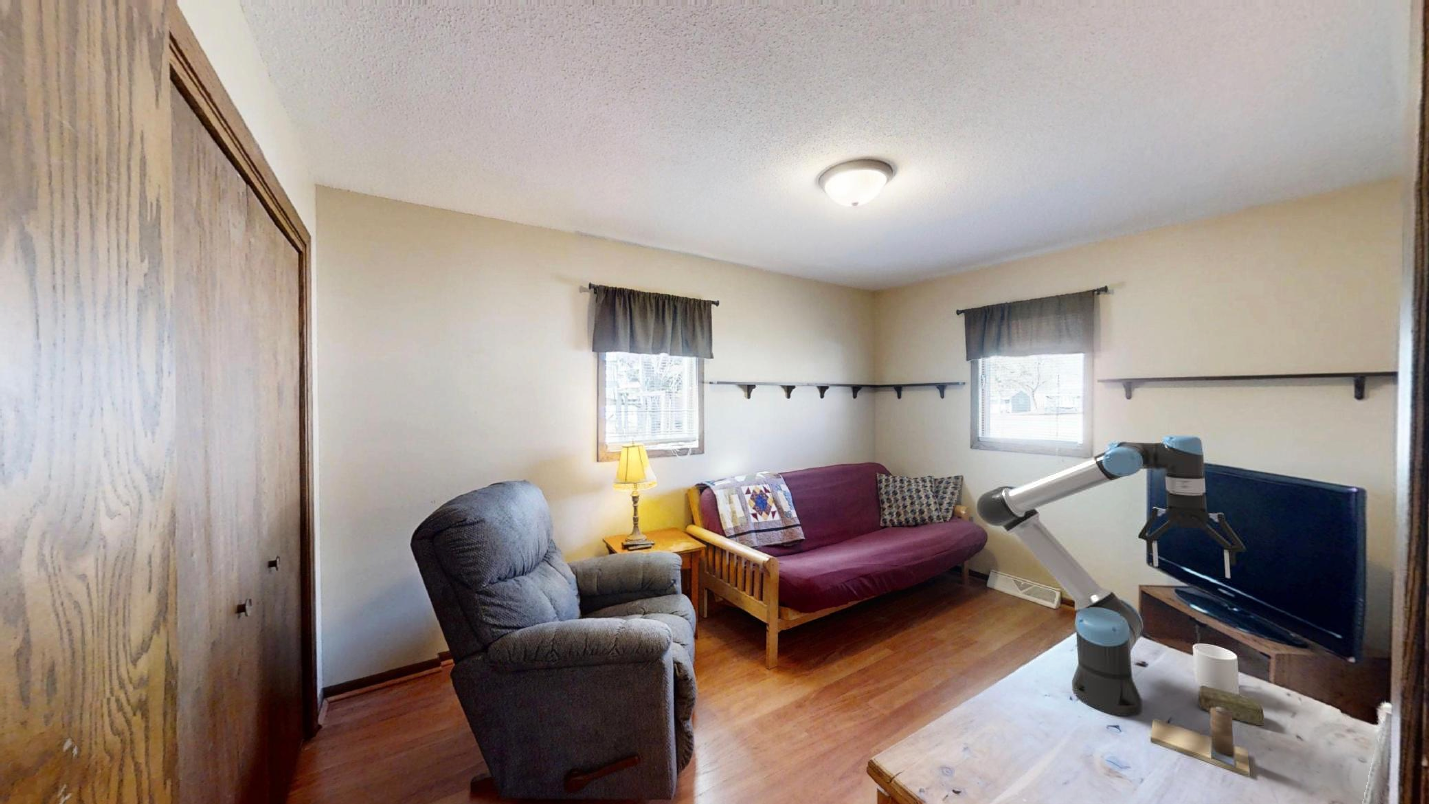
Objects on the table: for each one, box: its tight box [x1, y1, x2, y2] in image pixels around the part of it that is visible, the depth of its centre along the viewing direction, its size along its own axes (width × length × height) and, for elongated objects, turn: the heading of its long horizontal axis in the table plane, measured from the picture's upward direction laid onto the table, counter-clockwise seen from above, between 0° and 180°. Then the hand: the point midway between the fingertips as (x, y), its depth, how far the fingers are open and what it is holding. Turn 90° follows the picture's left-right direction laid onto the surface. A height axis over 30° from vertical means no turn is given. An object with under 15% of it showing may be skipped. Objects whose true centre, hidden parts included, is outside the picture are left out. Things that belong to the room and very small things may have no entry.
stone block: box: [1197, 686, 1265, 726], centre depth 122 cm, size 6×12×5 cm, turn 49°
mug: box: [1192, 643, 1240, 695], centre depth 132 cm, size 9×12×11 cm
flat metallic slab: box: [1150, 718, 1251, 778], centre depth 119 cm, size 16×34×2 cm, turn 133°
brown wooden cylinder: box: [1209, 707, 1235, 756], centre depth 108 cm, size 3×3×10 cm
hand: (1190, 570), depth 125 cm, fingers open, 13 cm apart
